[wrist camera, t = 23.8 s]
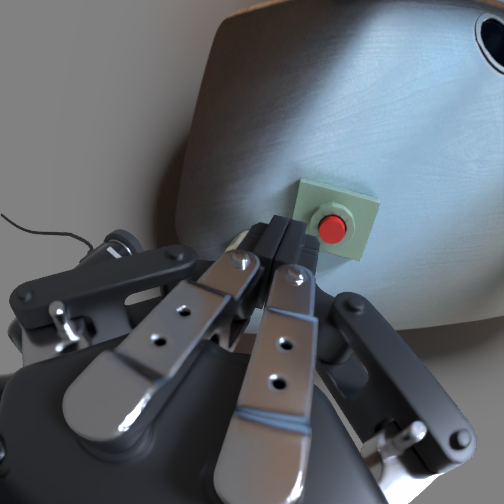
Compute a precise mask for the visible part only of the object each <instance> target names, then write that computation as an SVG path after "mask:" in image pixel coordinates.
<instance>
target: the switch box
mask: <svg viewBox="0 0 504 504" xmlns="http://www.w3.org/2000/svg"><path fill="white" fill-rule="evenodd" d="M379 206H380V202H379V200H378V199H377V198H374V197H371V196H367V195H364V194H361V193H357V192H354V191H350V190H347V189H343V188H340V187H336V186H332V185H328V184H325V183H321V182H317V181H313V180H309V179H305V178H301V180H300V183H299V188H298V193H297V198H296V203H295V208H294V212H293V217H292V219H294V220H297V221H301V222H305V223H307V227H306V232H305V234H308V235H312V236H316V237H317V239H318V240H319V242H320V248H319V250H320V251H323V252H327V253H331V254H334V255H338V256H342V257H345V258H349V259H352V260H356V261H360V260H361V257H362V255H363V252H364V249H365V247H366V244H367V241H368V238H369V236H370V233H371V230H372V227H373V224H374V221H375V218H376V215H377V212H378V209H379ZM327 216H337V217H339V218H340V219H341V220H342V221H343V223H344V226H345V234H344V237H343V239H342V240H341V241H340V242H338V243H336V244H329V243H326V242H324V241H323V240H322V239H321V237H320V235H319V227H320V223H321V221H322V220H323V219H324V218H325V217H327Z"/></svg>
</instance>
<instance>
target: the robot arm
mask: <svg viewBox="0 0 504 504" xmlns="http://www.w3.org/2000/svg"><path fill="white" fill-rule="evenodd" d="M1 216H2V217H3V218H5V219H6V220H7V221H8V222H10V223H11V224H12V225H14V226H16V227H17V228H19V229H21V230H23V231H26V232H29V233H33V234H44V235H62V236H64V235H65V236H71V237H74V238H76V239H78V240H80V241H82V242H84V243H85V244H87V245H88V246H89V248H90V250H89V251H88V253H87V255H86V256H85V257H84V258H82V259H81V260H80V262H79V263H80V264H79V265H77V266H76V267H75V268H74V269H72V270H69V271H65V272H62V273H58V274H54V275H50V276H47V277H43V278H39V279H36V280H32V281H29V282H25V283H23V284H21V285H19V286H18V287H17V288H16V289H15V290H14V291H13V292H12V294H11V296H10V300H9V303H10V306H11V308H12V310H13V312H14V314H15V316H16V318H15V319H14V320H13V321H12V322H11V324H10V325H9V327H8V336H9V338H10V339H11V340H12V342H13V343H14V344H15V346H16V347H17V348H18V350H19V351H20V352H21V353H22V356H23V368H21V369H19V370H18V371H16V372H15V373H10V374H4V375H0V504H407V503H408V502H410V501H411V500H412V499H413V498H414V497H415V496H417V494H419V493H420V492H421V491H422V490H423V489H424V488H425V487H426V486H428V485H429V484H430V483H431V482H432V481H433V480H434V479H435V478H436V477H437V476H439V475H441V474H443V473H445V472H448V471H450V470H452V469H453V468H455V467H457V466H459V465H461V464H463V463H465V462H466V461H468V460H469V459H470V458H471V457H472V456H473V454H474V453H475V450H476V446H477V437H476V433H475V430H474V429H473V427H472V426H471V424H470V423H469V421H468V420H467V419H466V417H465V416H464V415H463V413H462V412H461V411H460V409H459V408H458V407H457V405H456V404H455V403H454V401H453V400H452V399H451V397H450V396H449V395H448V394H447V392H445V390H444V389H443V387H442V386H441V385H440V384H439V382H438V381H437V380H436V378H435V377H434V376H433V375H432V374H431V372H430V371H429V370H428V369H427V367H426V366H425V365H424V364H423V363H422V361H421V360H420V359H419V358H418V357H417V355H416V354H415V353H414V352H413V351H412V349H411V348H410V347H409V346H408V345H407V344H406V342H405V341H404V340H403V339H402V338H401V337H400V336H399V334H398V333H397V332H396V331H395V330H394V329H393V328H392V326H391V325H390V324H389V323H388V322H387V321H386V320H385V319H384V317H383V316H382V315H381V314H380V313H379V312H378V311H377V310H376V309H375V307H374V306H373V305H372V304H371V303H370V302H369V301H368V300H367V299H366V298H364V297H363V296H361V295H359V294H356V293H352V292H342V293H340V294H338V295H337V296H336V297H335V298H334V297H333V296H331V295H329V294H327V293H325V292H324V291H322V290H321V289H320V288H319V287H318V285H317V284H316V278H315V271H316V266H317V260H318V254H319V248H320V242H319V240H318V239H317V237H316V236H312V235H308V234H305V232H306V227H307V223H305V222H301V221H297V220H294V219H291V222H290V219H289V218H285V217H282V216H278V215H274V216H273V218H272V220H271V221H270V223H269V224H265V223H261V222H260V223H258V224H255V225H253V226H252V227H251V229H250V230H249V231H248V233H247V234H246V236H245V237H244V238H243V240H242V241H241V243H240V244H239V245H238V247H237V248H236V250H229V251H226V252H224V253H223V254H222V255H221V256H220V257H219V258H218V259H217V260H216V261H203V260H197V254H196V252H195V251H194V250H193V249H192V248H190V247H188V246H185V245H170V246H165V247H162V248H158V249H153V250H148V251H144V252H140V253H136V254H134V253H133V252H132V250H131V249H130V247H129V246H128V245H127V244H126V243H124V242H123V241H121V240H119V239H111V240H110V241H105V242H104V243H102V244H101V245H100V246H98V247H97V248H96V249H94V250H93V247H92V245H91V244H90V243H89V242H88V241H86V240H85V239H83V238H81V237H79V236H77V235H74V234H72V233H66V232H64V233H63V232H37V231H30V230H27V229H24V228H22V227H20V226H18V225H16V224H15V223H13V222H12V221H10V220H9V219H8V218H6V217H5V216H4V215H3V214H1ZM158 286H160V292H161V296H159V297H156V298H152V299H149V300H146V301H143V302H139V303H136V304H132V305H125V304H124V303H125V299H126V298H127V297H128V296H129V295H131V294H134V293H137V292H141V291H144V290H148V289H151V288H155V287H158ZM265 300H266V301H265ZM264 303H265V305H264ZM263 305H264V312H263V315H262V319H261V323H260V326H259V330H258V333H257V337H256V340H255V344H254V347H253V351H252V354H251V355H250V354H242V353H233V350H234V348H235V346H236V345H237V343H238V341H239V340H240V338H241V336H242V334H243V333H244V331H245V329H246V327H247V326H248V324H249V322H250V318H251V315H252V313H253V311H254V309H255V307H256V308H259V309H262V308H263ZM352 351H354V352H355V354H356V355H357V356H358V358H359V359H360V360H361V362H362V363H363V365H364V366H365V367H366V369H367V371H368V374H367V373H366V372H365V370H364V369H363V367H362V366H361V365H360V363H359V362H358V361H357V359H356V358H355V357H354V355H353V354H352ZM315 369H316V371H317V372H318V374H319V375H320V377H321V378H322V380H323V382H324V383H325V385H326V386H327V388H328V390H329V391H330V393H331V394H332V396H333V398H334V399H335V401H336V402H337V404H338V405H339V407H340V409H341V410H342V412H343V413H344V415H345V416H346V418H347V419H348V421H349V423H350V424H351V426H352V427H353V429H354V430H355V432H356V433H357V435H358V436H359V438H360V440H361V441H362V443H363V446H362V448H361V452H359V450H358V449H357V447H356V445H355V444H354V442H353V440H352V438H351V437H350V435H349V433H348V431H347V430H346V428H345V426H344V425H343V423H342V421H341V419H340V418H339V416H338V415H337V413H336V411H335V409H334V407H333V406H332V404H331V402H330V401H329V399H328V398H327V397H326V395H325V394H324V393H323V392H322V391H321V390H320V389H319V388H318V387H317V386H316V385H315V384H314V376H315Z"/></svg>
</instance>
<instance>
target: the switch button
mask: <svg viewBox="0 0 504 504" xmlns="http://www.w3.org/2000/svg"><path fill="white" fill-rule="evenodd" d="M344 234H345V226H344V223H343V221H342V220H341V219H340V218H339V217H337V216H327V217H325V218H324V219H323V220H322V221H321V223H320V227H319V235H320V237H321V239H322V240H323V241H324V242H326V243H329V244H336V243H338V242H340V241H341V240H342V239H343V237H344Z"/></svg>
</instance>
